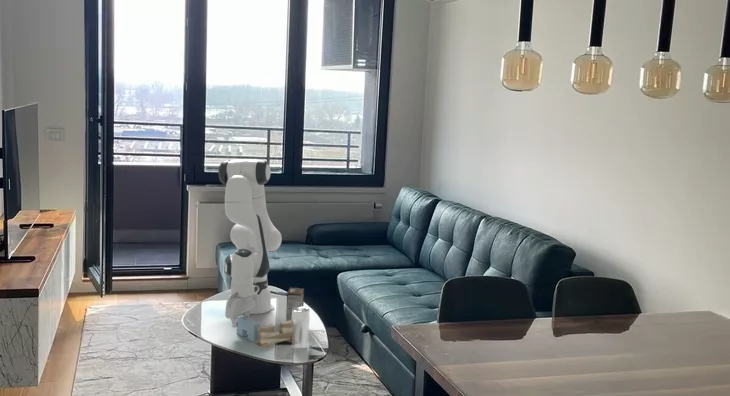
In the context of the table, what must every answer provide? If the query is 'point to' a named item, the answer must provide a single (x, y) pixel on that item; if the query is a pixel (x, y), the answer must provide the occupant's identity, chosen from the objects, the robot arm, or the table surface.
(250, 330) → the notched blue-grey block
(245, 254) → the robot arm
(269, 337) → the birch rail
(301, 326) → the beer glass
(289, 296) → the coffee box
